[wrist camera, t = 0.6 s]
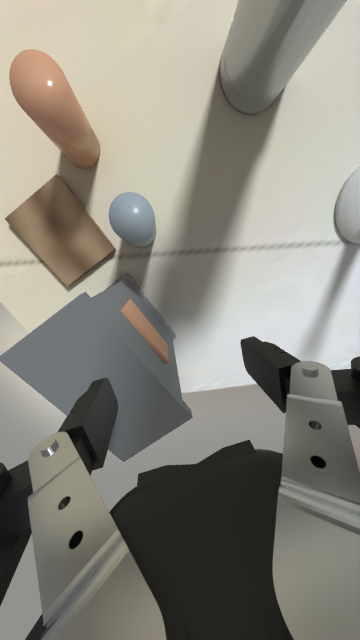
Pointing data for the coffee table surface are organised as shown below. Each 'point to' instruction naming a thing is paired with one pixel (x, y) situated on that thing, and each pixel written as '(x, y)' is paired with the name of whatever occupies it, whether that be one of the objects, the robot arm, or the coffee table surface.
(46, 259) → the pad
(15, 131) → the coffee table surface
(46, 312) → the coffee table surface
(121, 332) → the post
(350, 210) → the candlestick
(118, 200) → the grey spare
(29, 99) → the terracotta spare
